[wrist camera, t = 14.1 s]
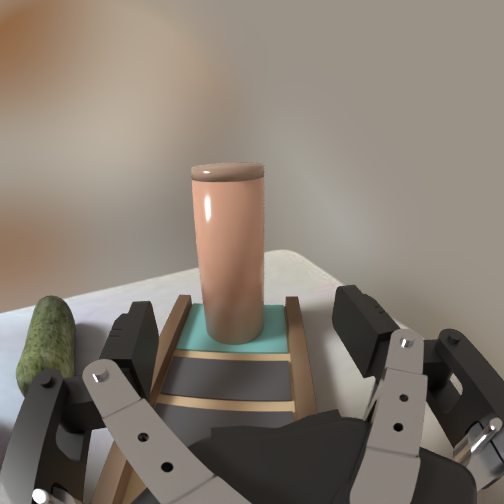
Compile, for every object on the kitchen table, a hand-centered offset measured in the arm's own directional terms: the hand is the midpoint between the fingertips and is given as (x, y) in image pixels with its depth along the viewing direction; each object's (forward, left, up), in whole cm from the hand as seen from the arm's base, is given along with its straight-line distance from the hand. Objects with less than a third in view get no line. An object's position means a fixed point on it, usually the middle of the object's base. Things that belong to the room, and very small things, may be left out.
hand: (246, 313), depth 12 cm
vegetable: (-18, +4, -10) cm, 21 cm away
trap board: (-2, +2, -10) cm, 10 cm away
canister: (-2, +11, -9) cm, 14 cm away
